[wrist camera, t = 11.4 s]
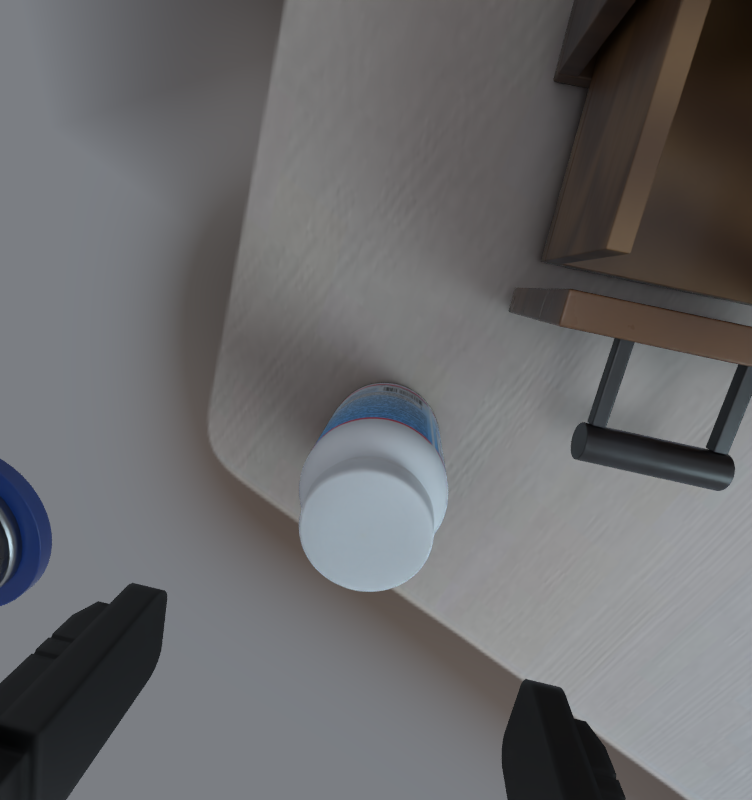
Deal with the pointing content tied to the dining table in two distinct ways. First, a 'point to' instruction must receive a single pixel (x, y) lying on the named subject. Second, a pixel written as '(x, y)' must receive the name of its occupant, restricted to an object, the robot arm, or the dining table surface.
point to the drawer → (661, 216)
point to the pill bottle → (374, 489)
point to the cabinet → (587, 38)
